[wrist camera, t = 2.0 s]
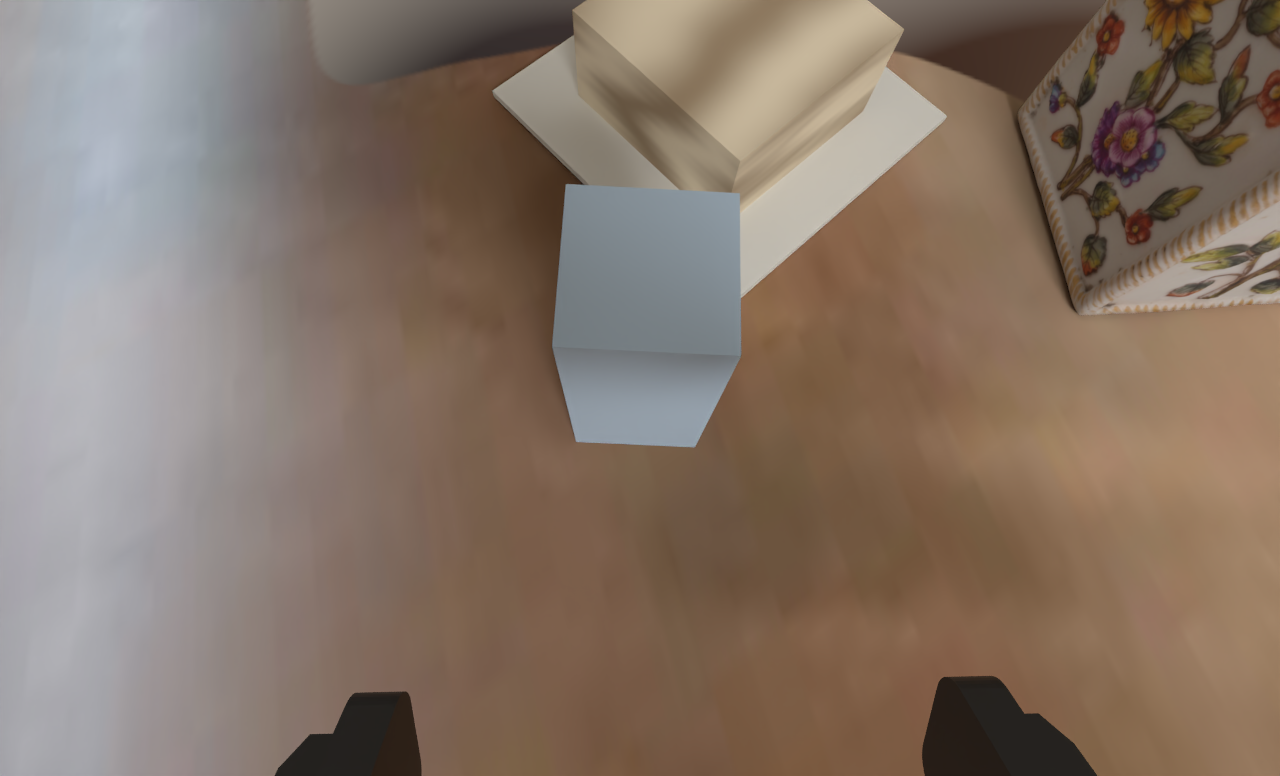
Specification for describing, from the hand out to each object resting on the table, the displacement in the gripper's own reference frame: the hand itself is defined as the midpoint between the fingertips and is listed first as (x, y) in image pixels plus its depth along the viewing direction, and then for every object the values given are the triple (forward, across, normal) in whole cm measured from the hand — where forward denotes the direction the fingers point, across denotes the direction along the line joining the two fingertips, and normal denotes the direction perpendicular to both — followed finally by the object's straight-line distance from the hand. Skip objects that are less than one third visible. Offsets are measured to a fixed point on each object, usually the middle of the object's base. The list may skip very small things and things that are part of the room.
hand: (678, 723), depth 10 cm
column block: (+19, 0, -3) cm, 19 cm away
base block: (+28, +4, +9) cm, 30 cm away
